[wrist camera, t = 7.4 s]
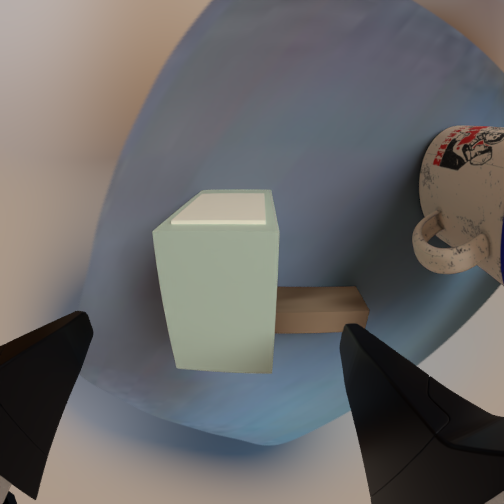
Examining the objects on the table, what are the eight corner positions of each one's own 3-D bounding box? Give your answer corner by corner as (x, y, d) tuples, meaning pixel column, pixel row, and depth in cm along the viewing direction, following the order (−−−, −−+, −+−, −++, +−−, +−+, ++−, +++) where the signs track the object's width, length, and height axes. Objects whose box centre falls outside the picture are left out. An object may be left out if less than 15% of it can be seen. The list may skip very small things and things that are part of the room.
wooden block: (355, 286, 18) (369, 310, 15) (351, 306, 18) (363, 332, 16) (178, 284, 18) (165, 308, 15) (181, 304, 19) (169, 330, 16)
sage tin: (270, 187, 16) (279, 227, 8) (268, 284, 18) (271, 375, 11) (202, 188, 16) (151, 227, 8) (208, 283, 18) (177, 370, 11)
